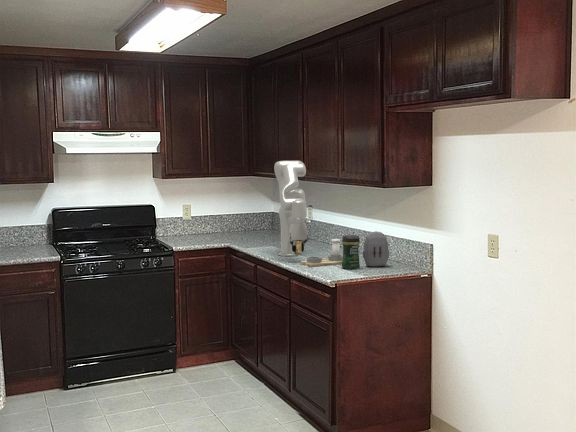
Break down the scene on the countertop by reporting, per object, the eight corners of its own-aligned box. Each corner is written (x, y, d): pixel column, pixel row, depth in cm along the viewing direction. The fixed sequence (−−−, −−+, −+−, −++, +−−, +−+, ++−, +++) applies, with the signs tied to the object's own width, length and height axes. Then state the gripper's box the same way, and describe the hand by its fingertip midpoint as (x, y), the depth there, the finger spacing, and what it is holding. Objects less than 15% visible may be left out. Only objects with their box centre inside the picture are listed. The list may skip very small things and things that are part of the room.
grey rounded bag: (388, 265, 369) (388, 230, 367) (390, 267, 360) (390, 232, 359) (361, 265, 368) (361, 230, 366) (363, 268, 360) (363, 232, 358)
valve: (292, 253, 384) (292, 239, 383) (300, 252, 386) (300, 238, 385) (296, 255, 379) (296, 240, 377) (304, 254, 380) (304, 240, 379)
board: (299, 263, 378) (299, 261, 377) (336, 260, 387) (336, 257, 387) (310, 267, 365) (310, 264, 365) (347, 263, 374) (347, 261, 374)
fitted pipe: (326, 259, 381) (326, 239, 380) (338, 258, 384) (338, 238, 383) (332, 261, 374) (332, 240, 372) (345, 260, 377) (345, 239, 376)
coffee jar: (346, 270, 355) (345, 236, 353) (340, 267, 362) (339, 234, 361) (361, 268, 358) (361, 235, 357) (355, 266, 366) (355, 233, 364)
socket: (305, 261, 375) (305, 257, 375) (317, 260, 379) (317, 256, 378) (311, 263, 368) (310, 259, 368) (323, 262, 371) (323, 258, 371)
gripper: (308, 219, 386) (308, 249, 389) (282, 221, 380) (282, 251, 383) (313, 221, 380) (313, 251, 382) (287, 222, 373) (287, 254, 376)
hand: (298, 251), depth 382 cm, fingers closed on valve, 4 cm apart
